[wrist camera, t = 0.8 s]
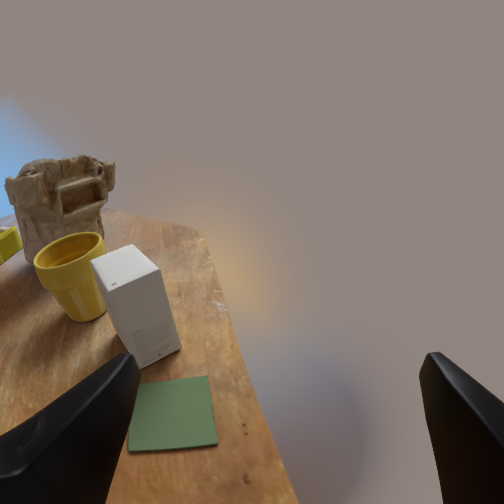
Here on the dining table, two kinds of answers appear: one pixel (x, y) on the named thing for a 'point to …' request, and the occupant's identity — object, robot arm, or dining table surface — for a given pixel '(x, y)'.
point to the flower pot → (73, 274)
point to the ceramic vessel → (59, 199)
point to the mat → (172, 416)
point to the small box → (137, 303)
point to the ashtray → (9, 242)
